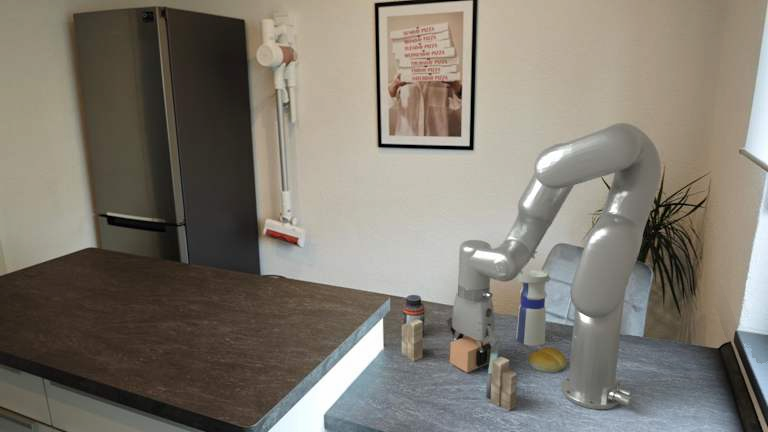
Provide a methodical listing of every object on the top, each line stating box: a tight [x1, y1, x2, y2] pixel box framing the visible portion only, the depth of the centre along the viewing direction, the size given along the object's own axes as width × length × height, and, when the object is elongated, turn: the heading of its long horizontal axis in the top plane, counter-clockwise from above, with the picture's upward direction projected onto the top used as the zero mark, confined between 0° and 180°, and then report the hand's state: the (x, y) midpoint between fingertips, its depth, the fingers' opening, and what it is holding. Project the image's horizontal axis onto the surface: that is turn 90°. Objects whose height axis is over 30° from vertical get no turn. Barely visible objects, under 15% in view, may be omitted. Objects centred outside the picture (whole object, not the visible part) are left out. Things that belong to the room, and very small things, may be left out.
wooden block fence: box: [401, 319, 518, 412], centre depth 126 cm, size 34×3×10 cm, turn 41°
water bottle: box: [515, 250, 551, 347], centre depth 144 cm, size 8×9×25 cm
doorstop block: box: [449, 335, 492, 373], centre depth 133 cm, size 6×8×6 cm
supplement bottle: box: [402, 294, 425, 337], centre depth 149 cm, size 6×6×11 cm
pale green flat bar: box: [485, 331, 501, 399], centre depth 129 cm, size 23×2×5 cm, turn 165°
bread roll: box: [527, 346, 568, 373], centre depth 133 cm, size 8×9×4 cm
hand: (470, 358), depth 133 cm, fingers closed on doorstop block, 6 cm apart
